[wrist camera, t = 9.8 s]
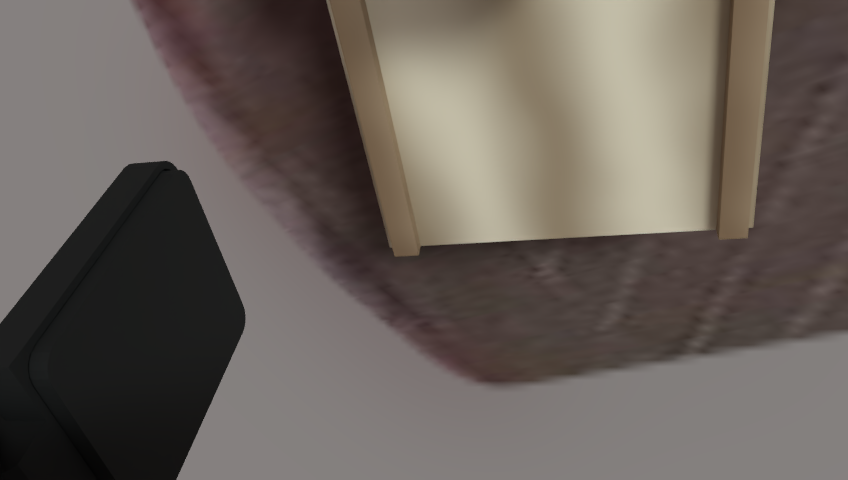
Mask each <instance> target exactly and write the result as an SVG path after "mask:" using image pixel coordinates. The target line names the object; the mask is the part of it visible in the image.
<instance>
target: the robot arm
mask: <svg viewBox="0 0 848 480" xmlns="http://www.w3.org/2000/svg"><path fill="white" fill-rule="evenodd" d="M244 326H245V310H244V307H243V304H242V301H241V299H240V297H239V294H238V292H237V289H236V287H235V285H234V283H233V280H232V278H231V275H230V273H229V270H228V268H227V266H226V263H225V261H224V259H223V256H222V254H221V251H220V249H219V247H218V245H217V242H216V240H215V237H214V235H213V233H212V230H211V228H210V225H209V223H208V221H207V218H206V216H205V214H204V211H203V209H202V206H201V204H200V202H199V199H198V197H197V194H196V192H195V190H194V187H193V185H192V183H191V180H190V178H189V176H188V175H187V174H186V173H185V172H184V171H182V170H177V168H176V167H175V166H174V165H173V164H172V163H170V162H168V161H160V162H147V163H134V164H129V165H128V166H126V167H125V168H124V169H123V170H122V172H121V173H120V174H119V175H118V177H117V178H116V179H115V180H114V182H113V183H112V184H111V185H110V187H109V188H108V189H107V190H106V192H105V193H104V194H103V195H102V197H101V198H100V199H99V201H98V202H97V203H96V204H95V205H94V207H93V208H92V209H91V210H90V212H89V213H88V214H87V216H86V217H85V218H84V219H83V221H82V222H81V223H80V224H79V226H78V227H77V228H76V229H75V231H74V232H73V233H72V234H71V236H70V237H69V238H68V239H67V241H66V242H65V243H64V244H63V246H62V247H61V248H60V249H59V251H58V252H57V253H56V255H55V256H54V257H53V258H52V259H51V261H50V262H49V263H48V264H47V266H46V267H45V268H44V270H43V271H42V272H41V273H40V275H39V276H38V277H37V278H36V280H35V281H34V282H33V283H32V285H31V286H30V287H29V289H28V290H27V291H26V292H25V293H24V295H23V296H22V297H21V298H20V300H19V301H18V302H17V304H16V305H15V306H14V307H13V309H12V310H11V311H10V312H9V314H8V315H7V316H6V317H5V318H4V320H3V321H2V322H1V324H0V480H176V478H177V477H178V474H179V472H180V470H181V468H182V466H183V463H184V461H185V459H186V457H187V455H188V452H189V450H190V448H191V446H192V443H193V441H194V439H195V437H196V435H197V432H198V430H199V428H200V426H201V424H202V421H203V419H204V417H205V415H206V412H207V410H208V408H209V406H210V404H211V402H212V399H213V397H214V395H215V393H216V390H217V388H218V386H219V384H220V382H221V379H222V377H223V375H224V373H225V370H226V368H227V366H228V364H229V362H230V360H231V357H232V355H233V353H234V351H235V348H236V346H237V344H238V342H239V340H240V337H241V335H242V333H243V330H244Z"/></svg>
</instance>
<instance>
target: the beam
mask: <svg viewBox="0 0 848 480" xmlns="http://www.w3.org/2000/svg"><path fill="white" fill-rule="evenodd" d="M326 1H327V5H328V9H329V13H330V17H331V21H332V25H333V29H334V32H335V36H336V40H337V44H338V48H339V52H340V56H341V60H342V64H343V67H344V71H345V75H346V79H347V83H348V87H349V91H350V95H351V99H352V102H353V106H354V110H355V114H356V118H357V122H358V126H359V130H360V134H361V137H362V141H363V145H364V149H365V153H366V157H367V161H368V165H369V168H370V172H371V176H372V180H373V184H374V188H375V192H376V196H377V200H378V203H379V207H380V211H381V215H382V219H383V223H384V227H385V231H386V235H387V238H388V242H389V246H390V248H393V252H394V256H395V257H397V256H416V255H419V252H420V247H421V246H429V245H447V244H465V243H483V242H501V241H519V240H537V239H556V238H574V237H592V236H610V235H628V234H646V233H664V232H682V231H700V230H717V234H718V238H719V239H738V238H748V228H753V224H754V213H755V203H756V192H757V182H758V172H759V161H760V151H761V140H762V130H763V120H764V109H765V99H766V88H767V78H768V67H769V57H770V47H771V36H772V26H773V15H774V5H775V0H326Z"/></svg>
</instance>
